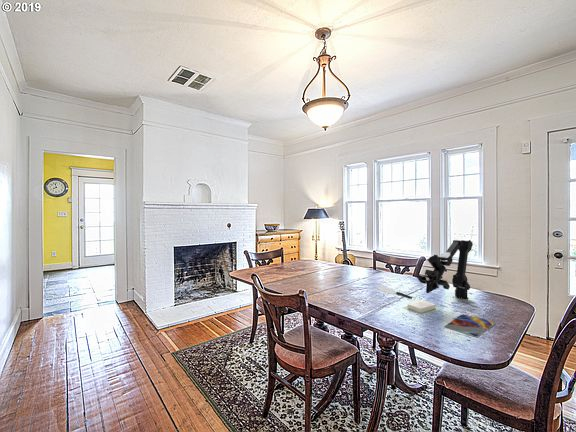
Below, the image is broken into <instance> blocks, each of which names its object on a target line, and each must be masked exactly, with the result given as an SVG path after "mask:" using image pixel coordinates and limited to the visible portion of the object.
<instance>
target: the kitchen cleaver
mask: <svg viewBox="0 0 576 432" xmlns="http://www.w3.org/2000/svg"><path fill="white" fill-rule="evenodd" d="M375 289H377V290H380V291H383V292H385V293H388V294H389V295H398V296H399V297H403V298H406V299H413V297H412V296H411V295H408V294H406V293H403V292H400V291H396V290H394V289H391V288H389V287H387V286H386V285H380V286H377V287H375Z"/></svg>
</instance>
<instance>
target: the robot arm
mask: <svg viewBox="0 0 576 432" xmlns="http://www.w3.org/2000/svg"><path fill="white" fill-rule="evenodd" d="M472 247H473V242H472V240H471V239H461V238H460V239H453V240H452V243H451V244H450V246H449V247H448V248H447V250H446V251H445V252H442V253H441V254H439V256H438V254H433V255H431V256H429V258H428V259H427V261H428V262H429V264H430V266H431V267H432V268H433V270H430V269H425V271H424V275H422V274H418V276H417V277H416V278H417V280H418V281H419V282H420V283H421V284H424V285H426V289H425V292H426V294H429V293H431V292H432V291H435V290H437V289H440V286H442V288H443V289H445V290H449V289H451V288H450V287H451V286H450V283H448V281H447V280H444V279H443V275H444V273H445V272H448V270H447V267H450V266H451V265H452V263H453V262H454V261H453V257H454V256H455V255H456V253H457V252H459V255H458V262H457V268H456V269H457V270H456V273H454V274H453V275H452V279H451V280H452V286H453V288H455V289H454V296H455V297H456V298H457V299H465V300H468V299H469V297H468V291H469V290H470V289H471V285H470V284H469V282H468V276H467V274H466V271H467V264H468V256H469V252H471V251H472ZM446 266H447V267H446ZM425 275H426V276H425Z"/></svg>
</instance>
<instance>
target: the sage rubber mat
mask: <svg viewBox="0 0 576 432" xmlns="http://www.w3.org/2000/svg"><path fill="white" fill-rule="evenodd" d="M402 309H403V310H407V311H409V312H413V313H416V314H418V315H421V316H425V315H428V314H431V313H434V312H437V311H441V310H443V309H444V308H443V307H440V306H437V305H436V308H435V309H432V310H428V311H425V312H422V313H420V312H417V311H414V310H411V309H409V308H408V305H407V306H403V307H402Z"/></svg>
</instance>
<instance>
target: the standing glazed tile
mask: <svg viewBox="0 0 576 432" xmlns="http://www.w3.org/2000/svg"><path fill="white" fill-rule="evenodd" d="M407 306H408V308H409V309H411V310H414V311H417V312H420V313H422V312H425V311H428V310H432V309H435V308H436V306H437V305H436V303H432V302H430V301H425V300H424V299H421V300H417V301H414V302H411V303H407Z"/></svg>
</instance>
